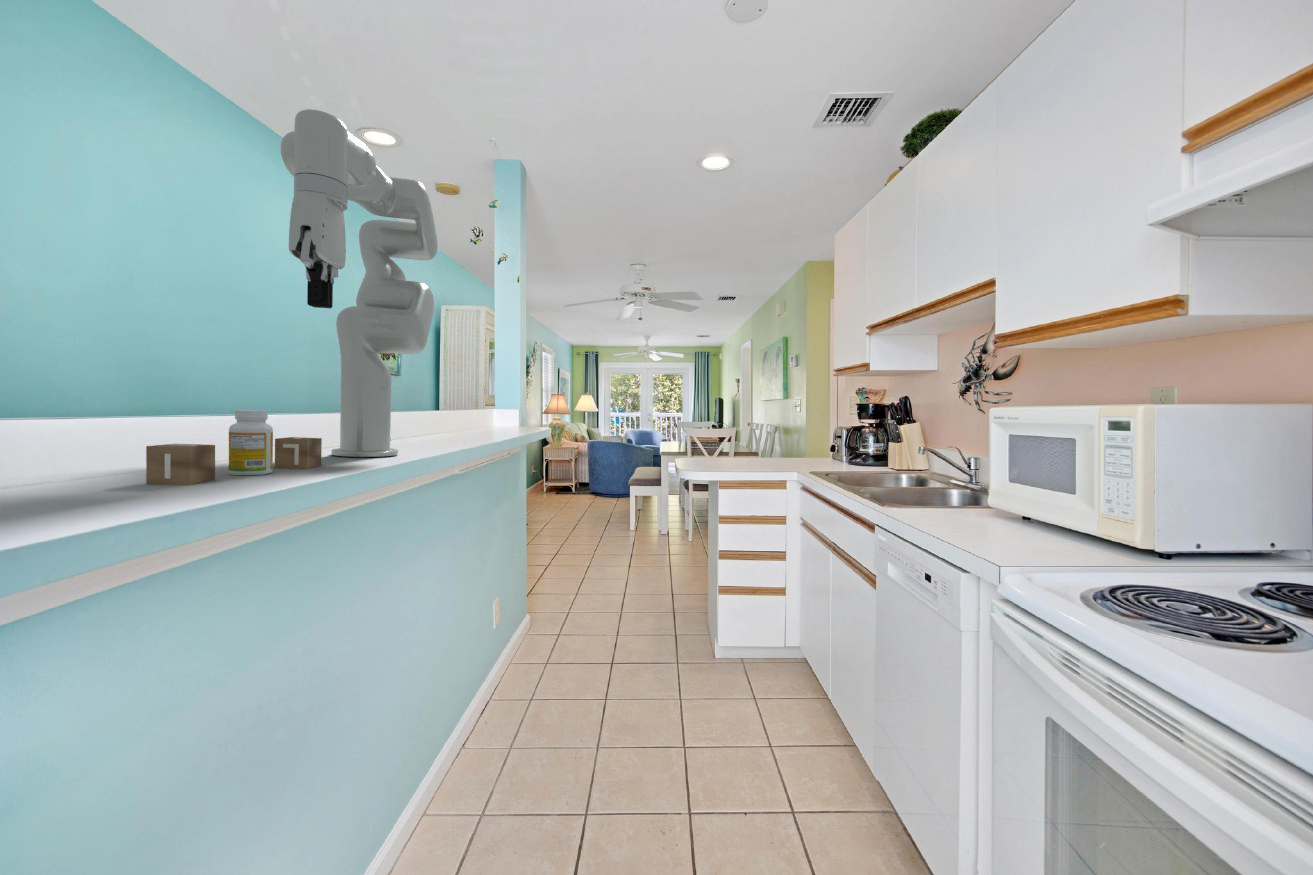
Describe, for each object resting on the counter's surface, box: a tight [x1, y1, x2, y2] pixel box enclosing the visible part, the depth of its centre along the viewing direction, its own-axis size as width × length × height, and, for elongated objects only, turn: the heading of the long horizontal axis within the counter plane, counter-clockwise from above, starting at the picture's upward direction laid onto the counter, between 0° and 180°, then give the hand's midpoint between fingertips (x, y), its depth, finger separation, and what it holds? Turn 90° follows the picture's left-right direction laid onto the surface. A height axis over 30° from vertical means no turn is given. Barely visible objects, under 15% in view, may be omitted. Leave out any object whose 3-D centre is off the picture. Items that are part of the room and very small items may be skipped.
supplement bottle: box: [228, 409, 274, 476], centre depth 83 cm, size 5×5×10 cm
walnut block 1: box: [145, 443, 216, 486], centre depth 73 cm, size 5×5×5 cm
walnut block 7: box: [274, 436, 323, 470], centre depth 93 cm, size 5×5×5 cm
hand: (320, 306), depth 91 cm, fingers closed
